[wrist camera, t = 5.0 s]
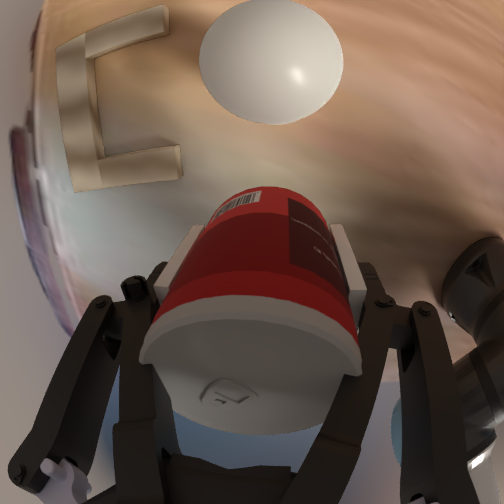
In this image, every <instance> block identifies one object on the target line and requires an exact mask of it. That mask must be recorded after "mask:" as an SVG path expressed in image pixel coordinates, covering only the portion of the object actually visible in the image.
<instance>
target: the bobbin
mask: <svg viewBox="0 0 504 504" xmlns="http://www.w3.org/2000/svg"><path fill="white" fill-rule="evenodd" d="M199 66H200V72H201V76H202V79H203V82H204V84H205V86H206V88H207V89H208V91H209V93H210V94H211V95H212V97H213V98H214V99H215V100H216V101H217V102H218V103H219V104H220V105H221V106H222V107H223V108H225V109H226V110H228V111H229V112H231V113H233V114H234V115H236V116H238V117H241V118H243V119H246V120H249V121H253V122H257V123H264V124H272V125H279V124H287V123H291V122H294V121H297V120H299V119H302V118H304V117H307V116H309V115H311V114H312V113H314V112H316V111H317V110H319V109H320V108H321V107H322V106H323V105H325V104H326V102H327V101H328V100H329V99H330V98H331V97H332V95H333V94H334V92H335V91H336V89H337V87H338V85H339V83H340V80H341V76H342V71H343V54H342V49H341V46H340V42H339V40H338V38H337V36H336V34H335V32H334V31H333V29H332V28H331V27H330V25H329V24H328V23H327V22H326V21H325V20H324V19H323V18H322V17H321V16H320V15H319V14H317V13H316V12H314V11H313V10H311V9H309V8H308V7H306V6H304V5H301V4H299V3H296V2H293V1H289V0H250V1H246V2H244V3H241V4H238V5H236V6H234V7H232V8H230V9H229V10H227V11H226V12H224V13H223V14H222V15H221V16H219V17H218V18H217V19H216V20H215V21H214V23H213V24H212V25H211V26H210V28H209V29H208V31H207V32H206V34H205V36H204V38H203V41H202V44H201V48H200V54H199Z"/></svg>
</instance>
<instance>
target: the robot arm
mask: <svg viewBox="0 0 504 504" xmlns="http://www.w3.org/2000/svg"><path fill="white" fill-rule="evenodd" d="M204 229H205V225H193V226H192V228H191V229H190V231H189V232H188V234H187V235H186V237H185V238H184V240H183V241H182V242H181V244H180V245H179V247H178V248H177V250H176V251H175V253H174V254H173V256H172V258H171V259H170V261H169V262H161V263H160V264H159V265H157V266H156V267H155V268H154V270H153V271H152V273H151V274H150V276H149V277H148V279H147V280H146V279H145V278H144V277H143V276H132V277H129V278H127V279H125V280H124V281H123V282H122V284H121V289H122V292H123V294H124V297H125V299H126V300H125V301H120V302H113V301H112V299H111V297H110V296H107V295H103V296H99V297H96V298H95V299H94V300H92V302H91V303H90V304H89V306H88V308H87V310H86V311H85V313H84V315H83V317H82V319H81V320H80V322H79V324H78V326H77V328H76V330H75V332H74V334H73V336H72V337H71V339H70V341H69V343H68V345H67V347H66V350H65V351H64V354H63V356H62V358H61V360H60V362H59V364H58V366H57V368H56V370H55V373H54V375H53V377H52V380H51V382H50V384H49V386H48V389H47V391H46V393H45V396H44V398H43V401H42V404H41V406H40V409H39V411H38V414H37V416H36V419H35V422H34V425H33V428H32V430H31V431H30V433H29V434H28V436H27V437H26V439H25V440H24V441H23V443H22V444H21V445H20V447H19V448H18V450H17V451H16V453H15V454H14V456H13V457H12V459H11V460H10V462H9V465H8V474H9V478H10V479H11V481H12V482H13V483H14V484H15V485H16V486H18V487H20V488H22V489H24V490H26V491H28V492H30V493H32V494H34V495H36V496H37V497H38V498H39V499H40V500H41V501H42V502H43V503H44V504H338V503H339V501H340V499H341V497H342V495H343V492H344V490H345V488H346V486H347V484H348V481H349V479H350V477H351V475H352V472H353V470H354V468H355V465H356V463H357V460H358V458H359V455H360V452H361V443H362V440H363V437H364V434H365V431H366V428H367V425H368V422H369V419H370V416H371V413H372V410H373V407H374V403H375V400H376V396H377V393H378V389H379V386H380V382H381V378H382V374H383V370H384V366H385V361H386V357H387V352H388V348H393V349H397V358H398V368H399V379H400V392H401V398H399V400H398V401H397V403H396V405H395V407H394V409H393V414H392V419H391V438H392V445H393V450H394V454H395V457H396V460H397V462H398V463H400V467H401V478H400V500H401V504H501V503H500V496H499V491H498V485H497V481H496V476H495V471H494V467H493V463H492V460H491V456H490V454H491V450H492V448H493V446H494V444H495V442H496V440H497V436H496V433H495V430H494V427H495V426H497V425H498V424H499V423H501V422H502V421H504V241H503V240H502V239H500V238H496V237H489V238H485V239H482V240H480V241H478V242H476V243H474V244H473V245H472V246H470V247H469V248H468V249H467V250H466V251H465V252H464V253H463V254H462V255H461V256H460V257H459V258H458V259H457V260H456V262H455V263H454V265H453V266H452V268H451V269H450V271H449V273H448V275H447V277H446V279H445V282H444V285H443V289H442V304H443V307H444V309H445V310H446V312H447V314H448V316H449V317H450V318H451V320H452V321H454V322H455V323H457V324H458V325H459V326H460V327H461V328H462V329H464V330H465V331H466V332H467V333H469V334H470V335H471V336H472V337H473V339H474V340H475V342H476V344H477V347H476V348H474V349H473V350H472V351H471V352H469V353H468V354H466V355H465V356H464V357H462V358H461V359H459V360H458V361H456V362H455V363H454V364H452V360H451V356H450V352H449V348H448V345H447V341H446V338H445V334H444V331H443V328H442V324H441V321H440V318H439V315H438V312H437V310H436V308H435V307H434V306H433V305H432V304H430V303H428V302H425V301H417V302H415V303H414V304H413V305H412V308H407V307H402V306H398V305H396V302H395V300H394V299H393V298H392V297H391V296H389V295H386V293H385V291H384V288H383V286H382V284H381V281H380V280H379V277H378V275H377V272H376V270H375V268H374V267H373V266H372V265H371V264H370V263H357V261H356V258H355V256H354V253H353V251H352V248H351V246H350V243H349V241H348V238H347V236H346V233H345V231H344V229H343V226H342V224H330V229H329V233H330V236H331V239H332V243H333V246H334V249H335V253H336V256H337V259H338V263H339V266H340V270H341V273H342V277H343V280H344V284H345V288H346V291H347V295H348V299H349V303H350V307H351V310H352V314H353V319H354V323H355V327H356V331H357V329H358V327H359V333H358V343H359V348H360V353H361V358H362V364H361V368H362V374H361V375H359V376H352V375H347V374H344V376H343V378H342V381H341V383H340V386H339V388H338V391H337V393H336V396H335V398H334V400H333V403H332V405H331V407H330V410H329V412H328V414H327V416H326V419H325V421H324V423H323V425H322V427H321V430H320V432H319V433H318V435H317V437H316V439H315V441H314V443H313V445H312V446H311V448H310V451H309V452H308V454H307V456H306V458H305V460H304V462H303V464H302V466H301V468H300V469H299V471H298V473H294V472H290V470H291V467H290V466H262V465H260V466H253V467H246V468H238V469H226V468H223V467H220V466H218V465H215V464H212V463H210V462H207V461H205V460H202V459H200V458H195V457H190V456H184V455H182V453H181V451H180V448H179V445H178V440H177V435H176V429H175V423H174V416H173V410H172V403H171V398H170V396H169V394H168V392H167V390H166V388H165V386H164V384H163V382H162V381H161V379H160V377H159V375H158V373H157V371H156V370H155V368H154V366H153V364H144V365H142V364H141V363H140V362H139V356H140V350H141V348H142V346H143V344H144V338H145V336H146V334H147V332H148V330H149V328H150V326H151V324H152V322H153V320H154V317H155V315H156V313H157V312H158V310H159V308H160V306H161V304H162V302H163V301H164V299H165V297H166V295H167V293H168V292H169V290H170V288H171V286H172V284H173V283H174V281H175V279H176V277H177V276H178V274H179V272H180V270H181V269H182V267H183V265H184V263H185V262H186V260H187V258H188V256H189V255H190V253H191V251H192V250H193V248H194V246H195V245H196V243H197V241H198V239H199V238H200V236H201V234H202V233H203V231H204ZM119 365H120V376H119V422H118V423H116V424H114V426H113V433H112V434H113V456H114V469H115V481H116V484H115V485H113V486H112V487H110V488H108V489H107V490H105V491H103V492H102V493H100V494H98V495H96V496H94V497H92V498H91V499H89V500H87V494H89V493H90V492H91V489H92V487H91V485H90V484H89V483H88V479H87V475H88V473H89V471H90V469H91V466H92V463H93V460H94V456H95V451H96V447H97V443H98V439H99V435H100V431H101V427H102V423H103V419H104V415H105V412H106V407H107V404H108V401H109V397H110V394H111V391H112V387H113V384H114V381H115V377H116V374H117V371H118V368H119Z"/></svg>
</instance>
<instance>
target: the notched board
mask: <svg viewBox="0 0 504 504" xmlns="http://www.w3.org/2000/svg"><path fill="white" fill-rule="evenodd" d="M166 35H170V28H169V8H167V7H166V6H164V5H163V4H162V5H159V6H155V7H152V8H148V9H145V10H142V11H139V12H136V13H133V14H130V15H127V16H125V17H122V18H119V19H117V20H114V21H111V22H109V23H107V24H104V25H102V26H99V27H97V28H95V29H93V30H91V31H88V32H86V33H84V34H82V35H80V36H78V37H76V38H74V39H72V40H70V41H68V42H66V43H64V44H63V45H61V46H59V47H57V48H56V77H57V92H58V103H59V112H60V120H61V127H62V134H63V140H64V146H65V151H66V157H67V162H68V167H69V171H70V176H71V180H72V184H73V189H74V193H77V192H83V191H89V190H95V189H102V188H109V187H116V186H123V185H131V184H140V183H149V182H158V181H168V180H178V179H179V178H181V177H182V176H183V169H182V161H181V154H180V146H179V145H174V146H167V147H159V148H153V149H146V150H140V151H134V152H128V153H123V154H118V155H113V156H108V157H105V152H104V146H103V140H102V134H101V127H100V119H99V111H98V103H97V93H96V81H95V66H94V59H95V58H97V57H100V56H102V55H105V54H107V53H110V52H113V51H115V50H118V49H121V48H124V47H127V46H130V45H133V44H137V43H140V42H143V41H147V40H150V39H154V38H158V37H162V36H166Z"/></svg>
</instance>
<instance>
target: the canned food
mask: <svg viewBox="0 0 504 504" xmlns="http://www.w3.org/2000/svg"><path fill="white" fill-rule="evenodd" d="M139 362H140V363H141V364H142V365H144V364H153V366H154V368H155V370H156V371H157V373H158V375H159V377H160V379H161V381H162V382H163V384H164V386H165V388H166V390H167V392H168V394H169V396H170V398H171V403H172V410H174V411H175V412H177V413H178V414H180V415H182V416H184V417H186V418H188V419H190V420H192V421H194V422H197V423H199V424H202V425H204V426H207V427H211V428H214V429H218V430H222V431H226V432H232V433H237V434H247V435H275V434H285V433H291V432H295V431H300V430H304V429H307V428H310V427H313V426H316V425H319V424H321V423H323V422H324V421H325V419H326V416H327V414H328V412H329V410H330V407H331V405H332V403H333V400H334V398H335V396H336V393H337V391H338V388H339V386H340V383H341V381H342V378H343V376H344V374H347V375H352V376H359V375H361V374H362V368H361V364H362V358H361V353H360V348H359V343H358V336H357V331H356V327H355V323H354V319H353V314H352V310H351V307H350V303H349V299H348V295H347V291H346V288H345V284H344V280H343V277H342V273H341V270H340V266H339V263H338V259H337V256H336V253H335V249H334V246H333V243H332V239H331V236H330V233H329V230H328V227H327V224H326V221H325V219H324V217H323V216H322V214H321V212H320V211H319V210H318V209H317V208H316V206H315V205H314V204H313V203H312V202H311V201H309V200H308V199H306V198H305V197H303V196H302V195H301V194H298V193H296V192H293V191H291V190H289V189H285V188H279V187H257V188H252V189H247V190H245V191H243V192H240V193H238V194H235V195H234V196H232V197H231V198H229V199H228V200H227V201H225V202H224V203H223V204H222V205H221V206H220V207H219V208H218V209H217V210H216V212H215V213H214V215H213V216H212V218H211V220H210V221H209V223H208V225H207V226H206V228H205V229H204V231H203V233H202V234H201V236H200V238H199V239H198V241H197V243H196V245H195V246H194V248H193V250H192V251H191V253H190V255H189V256H188V258H187V260H186V262H185V263H184V265H183V267H182V269H181V270H180V272H179V274H178V276H177V277H176V279H175V281H174V283H173V284H172V286H171V288H170V290H169V292H168V293H167V295H166V297H165V299H164V301H163V302H162V304H161V306H160V308H159V310H158V312H157V313H156V315H155V317H154V320H153V322H152V324H151V326H150V328H149V330H148V332H147V334H146V336H145V338H144V344H143V346H142V348H141V350H140V356H139Z"/></svg>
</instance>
